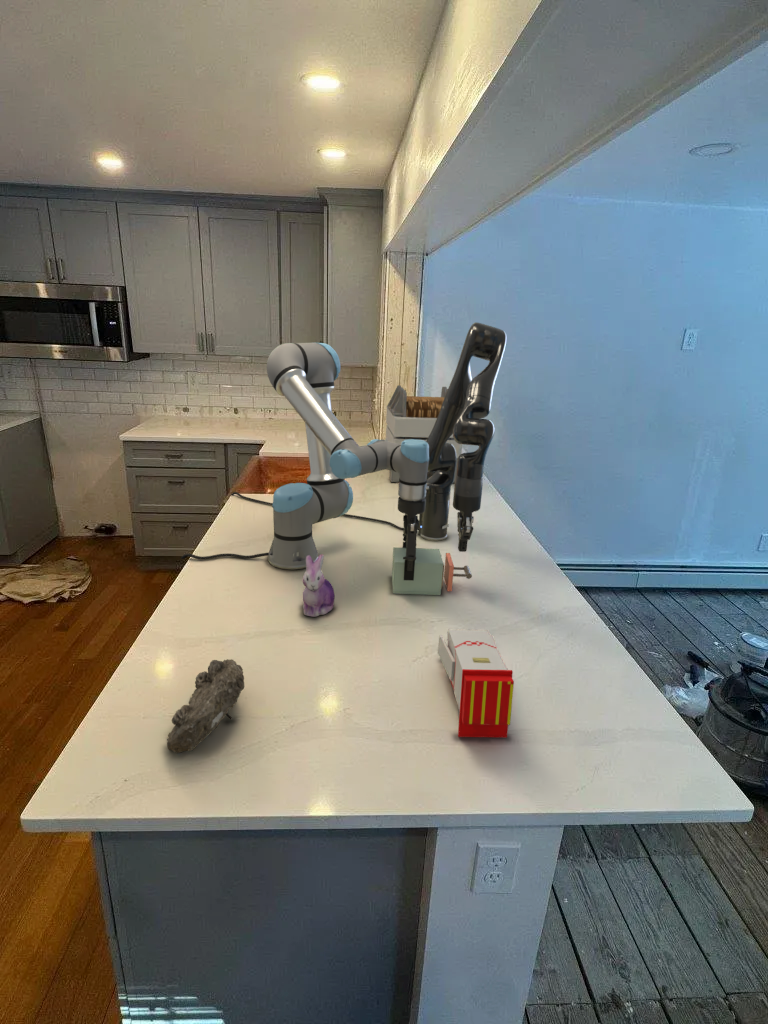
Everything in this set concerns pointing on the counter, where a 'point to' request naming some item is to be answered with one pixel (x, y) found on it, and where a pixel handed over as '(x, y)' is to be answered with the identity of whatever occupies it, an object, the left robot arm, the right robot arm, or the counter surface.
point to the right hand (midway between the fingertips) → (462, 550)
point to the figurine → (316, 589)
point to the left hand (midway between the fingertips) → (407, 571)
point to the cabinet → (418, 572)
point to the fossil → (206, 705)
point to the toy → (478, 682)
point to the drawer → (449, 572)
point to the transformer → (414, 420)
